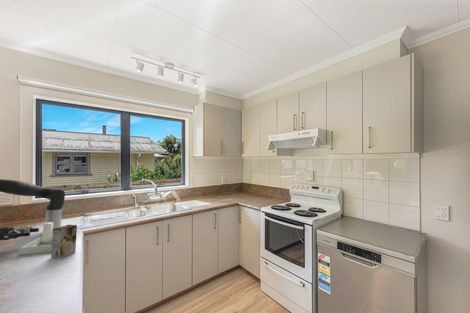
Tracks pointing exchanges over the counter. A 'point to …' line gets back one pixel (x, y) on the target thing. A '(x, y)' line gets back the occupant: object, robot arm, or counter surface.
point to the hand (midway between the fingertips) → (34, 232)
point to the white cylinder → (47, 232)
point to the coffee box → (63, 241)
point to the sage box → (36, 247)
